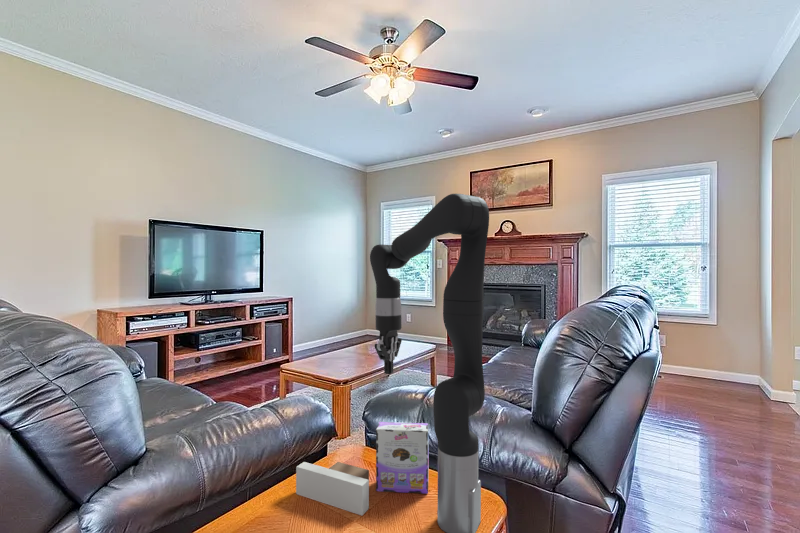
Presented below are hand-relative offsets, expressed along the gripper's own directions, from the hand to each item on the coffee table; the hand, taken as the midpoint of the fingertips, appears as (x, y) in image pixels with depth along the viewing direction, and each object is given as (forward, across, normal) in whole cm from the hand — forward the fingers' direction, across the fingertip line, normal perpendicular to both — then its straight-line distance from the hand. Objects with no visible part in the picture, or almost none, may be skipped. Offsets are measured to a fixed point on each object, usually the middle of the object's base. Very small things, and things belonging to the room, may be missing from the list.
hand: (388, 373), depth 115 cm
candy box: (+28, -6, -7) cm, 30 cm away
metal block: (+28, -14, +6) cm, 32 cm away
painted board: (+28, -20, +6) cm, 35 cm away
